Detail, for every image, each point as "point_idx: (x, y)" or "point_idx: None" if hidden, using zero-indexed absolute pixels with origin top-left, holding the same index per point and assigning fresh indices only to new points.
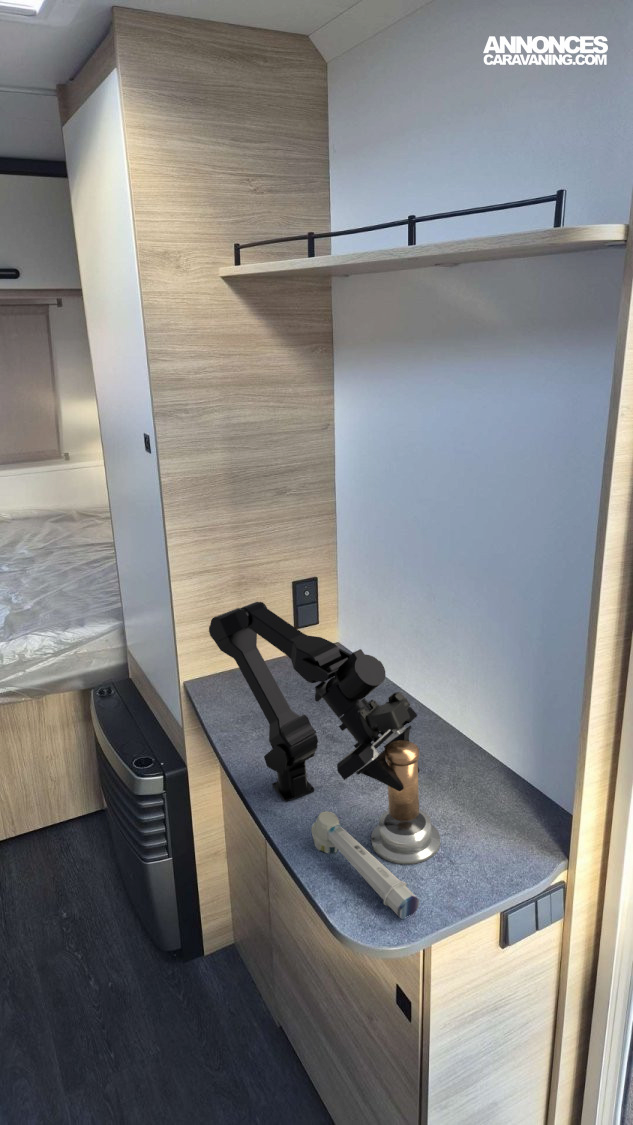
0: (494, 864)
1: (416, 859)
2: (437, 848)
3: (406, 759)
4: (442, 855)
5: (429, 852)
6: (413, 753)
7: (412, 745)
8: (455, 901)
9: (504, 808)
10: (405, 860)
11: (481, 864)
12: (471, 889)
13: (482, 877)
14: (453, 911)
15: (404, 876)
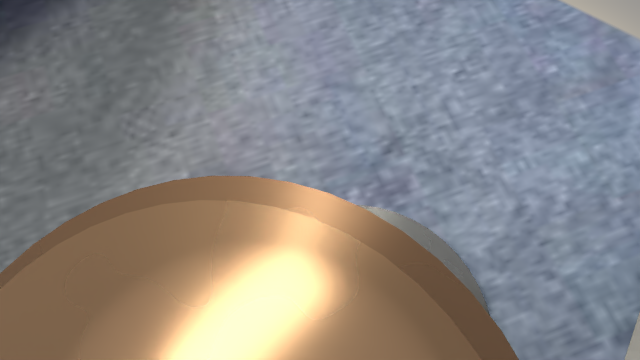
0: (348, 25)
1: (456, 254)
2: (358, 205)
3: (475, 305)
4: (372, 185)
5: (396, 222)
6: (277, 228)
7: (18, 347)
8: (569, 73)
9: (67, 79)
10: (480, 292)
11: (364, 58)
12: (491, 48)
13: (422, 37)
14: (616, 64)
15: (540, 273)
